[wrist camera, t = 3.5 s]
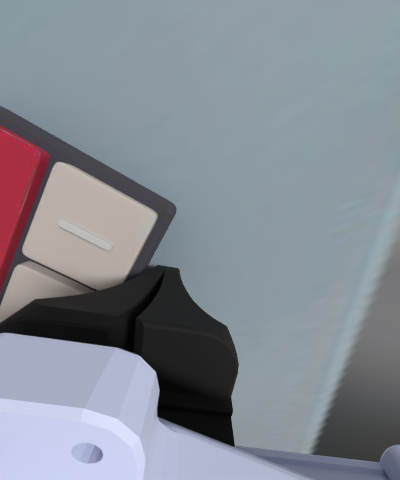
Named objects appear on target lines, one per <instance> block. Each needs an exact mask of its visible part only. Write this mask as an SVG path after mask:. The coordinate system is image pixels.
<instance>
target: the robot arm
mask: <svg viewBox="0 0 400 480" xmlns="http://www.w3.org/2000/svg"><path fill="white" fill-rule="evenodd" d="M238 366H239V364H238V358H237V353H236V349H235V346H234V343H233V340H232V338H231V335H230V333H229V330H228V328H227V326H225V325H224V324H222V323H220V322H219V321H217V320H215V319H214V318H212V317H211V316H210V315H208V314H207V313H206V312H204V311H203V310H202V309H201V308H200V307H199V306H198V305H197V304H196V303H195V302H194V301H193V300H192V298H191V297H190V296H189V294H188V292H187V291H186V289H185V287H184V285H183V282H182V280H181V277H180V270H179V269H178V268H173V267H167V266H160V265H158V266H156V267H154V268H152V269H150V270H149V271H147V272H145V273H143V274H141V275H140V276H137V277H135V278H133V279H131V280H129V281H127V282H124V283H122V284H119V285H116V286H113V287H110V288H106V289H102V290H98V291H94V292H90V293H85V294H79V295H72V296H65V297H54V298H43V299H35V300H33V301H32V302H30V303H29V304H27V305H26V306H24V307H23V308H21V309H20V310H18V311H17V312H15V313H14V314H12V315H11V316H9V317H8V318H6V319H5V320H4V321H2V322H1V323H0V480H400V445H394V446H391V447H389V448H387V449H386V450H385V451H384V453H383V455H382V457H381V459H380V463H378V462H370V461H361V460H353V459H344V458H335V457H327V456H318V455H310V454H302V453H293V452H285V451H276V450H268V449H259V448H251V447H242V446H235V444H234V437H233V429H232V421H231V416H232V413H233V408H232V401H231V395H232V392H233V388H234V384H235V381H236V377H237V374H238Z"/></svg>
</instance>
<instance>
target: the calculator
mask: <svg viewBox="0 0 400 480" xmlns="http://www.w3.org/2000/svg"><path fill="white" fill-rule="evenodd" d="M175 213H176V206H175V205H174V204H173V203H172V202H170V201H168V200H167V199H165V198H163V197H161V196H160V195H158V194H156V193H154V192H152V191H151V190H149V189H147V188H145V187H144V186H142V185H140V184H138V183H137V182H135V181H133V180H131V179H129V178H128V177H126V176H124V175H122V174H121V173H119V172H117V171H115V170H114V169H112V168H110V167H108V166H107V165H105V164H103V163H101V162H99V161H98V160H96V159H94V158H92V157H91V156H89V155H87V154H85V153H84V152H82V151H80V150H78V149H76V148H75V147H73V146H71V145H69V144H68V143H66V142H64V141H62V140H61V139H59V138H57V137H55V136H54V135H52V134H50V133H48V132H46V131H45V130H43V129H41V128H39V127H38V126H36V125H34V124H32V123H31V122H29V121H27V120H25V119H24V118H22V117H20V116H18V115H16V114H15V113H13V112H11V111H9V110H7V109H5V108H3V107H1V106H0V323H1V322H2V321H4V320H5V319H6V318H8V317H9V316H11V315H12V314H14V313H15V312H17V311H18V310H20V309H21V308H23V307H24V306H26V305H27V304H29V303H30V302H32V301H33V300H35V299H43V298H54V297H65V296H72V295H79V294H85V293H90V292H94V291H98V290H102V289H106V288H110V287H113V286H116V285H119V284H122V283H124V282H127V281H129V280H131V279H133V278H135V277H137V276H140V275H141V274H143V273H144V272H145V270H146V268H147V266H148V264H149V262H150V260H151V259H152V257H153V255H154V253H155V251H156V249H157V247H158V245H159V244H160V242H161V240H162V238H163V236H164V234H165V232H166V231H167V229H168V227H169V225H170V223H171V221H172V219H173V218H174V216H175Z"/></svg>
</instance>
